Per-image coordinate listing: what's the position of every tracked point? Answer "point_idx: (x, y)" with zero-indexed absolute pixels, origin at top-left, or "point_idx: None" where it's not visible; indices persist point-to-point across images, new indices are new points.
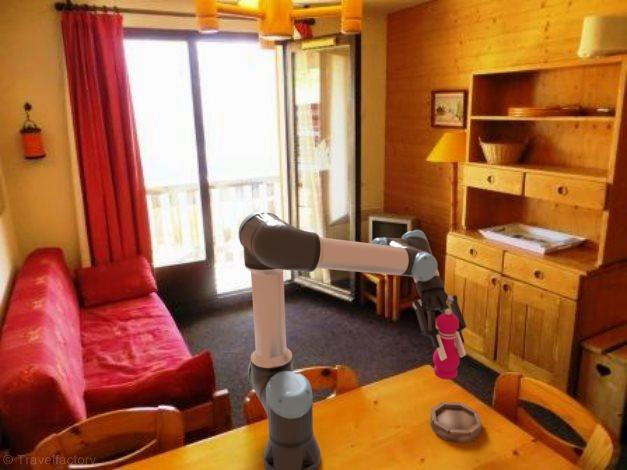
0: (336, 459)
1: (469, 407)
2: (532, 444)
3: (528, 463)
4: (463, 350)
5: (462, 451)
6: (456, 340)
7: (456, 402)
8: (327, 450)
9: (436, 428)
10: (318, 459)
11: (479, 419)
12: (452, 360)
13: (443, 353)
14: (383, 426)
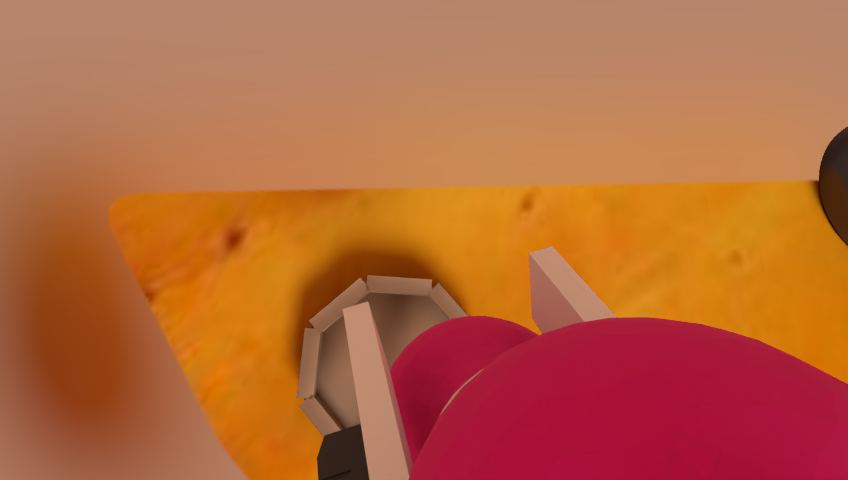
0: (774, 199)
1: (322, 430)
2: (160, 278)
3: (214, 195)
4: (362, 331)
5: (399, 240)
6: (410, 468)
7: None
8: (807, 235)
9: None
10: (841, 161)
11: (305, 353)
12: (456, 326)
13: (569, 270)
14: None
